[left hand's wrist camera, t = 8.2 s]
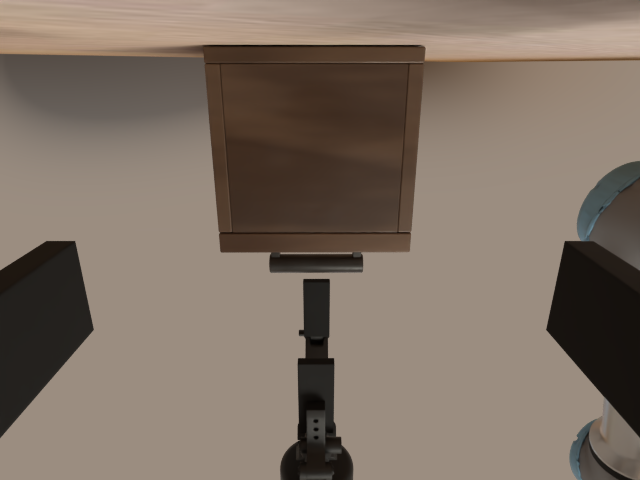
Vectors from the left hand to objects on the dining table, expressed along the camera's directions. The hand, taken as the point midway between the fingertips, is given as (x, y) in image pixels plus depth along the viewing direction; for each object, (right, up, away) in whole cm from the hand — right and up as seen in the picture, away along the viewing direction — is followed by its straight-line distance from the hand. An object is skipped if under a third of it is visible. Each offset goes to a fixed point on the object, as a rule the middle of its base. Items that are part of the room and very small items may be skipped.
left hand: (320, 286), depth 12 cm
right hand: (0, -5, +27) cm, 28 cm away
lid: (0, +4, +18) cm, 18 cm away
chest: (0, +13, +14) cm, 19 cm away
